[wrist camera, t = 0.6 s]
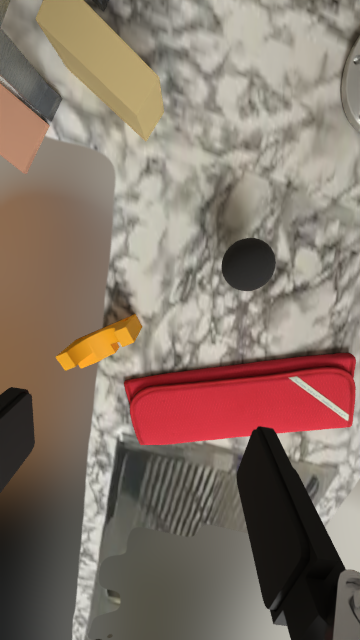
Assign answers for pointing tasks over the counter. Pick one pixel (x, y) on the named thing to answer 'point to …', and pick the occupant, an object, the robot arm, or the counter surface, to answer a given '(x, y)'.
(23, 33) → the counter surface
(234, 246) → the black rubber blower bulb
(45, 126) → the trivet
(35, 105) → the grey u-shaped piece
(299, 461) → the counter surface
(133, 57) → the tan rectangular block
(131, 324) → the pipe clamp
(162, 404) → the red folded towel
